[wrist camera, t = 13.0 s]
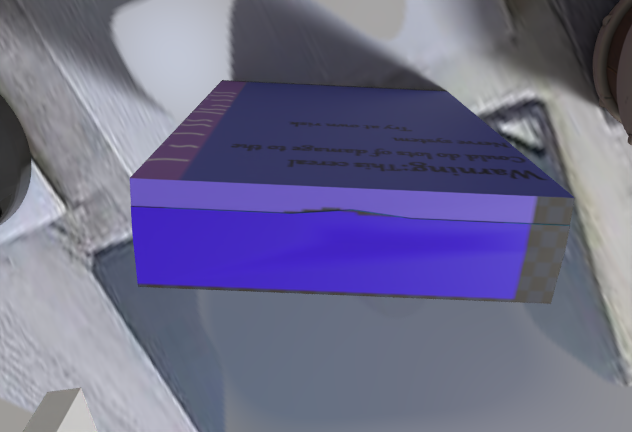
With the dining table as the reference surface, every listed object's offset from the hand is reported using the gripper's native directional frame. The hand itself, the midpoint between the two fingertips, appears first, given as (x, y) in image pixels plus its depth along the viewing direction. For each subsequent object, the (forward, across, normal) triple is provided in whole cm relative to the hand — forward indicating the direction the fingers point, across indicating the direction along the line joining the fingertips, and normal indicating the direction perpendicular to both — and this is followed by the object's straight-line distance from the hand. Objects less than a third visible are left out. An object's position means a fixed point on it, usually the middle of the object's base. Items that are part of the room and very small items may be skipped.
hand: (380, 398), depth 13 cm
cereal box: (+35, 0, -2) cm, 35 cm away
